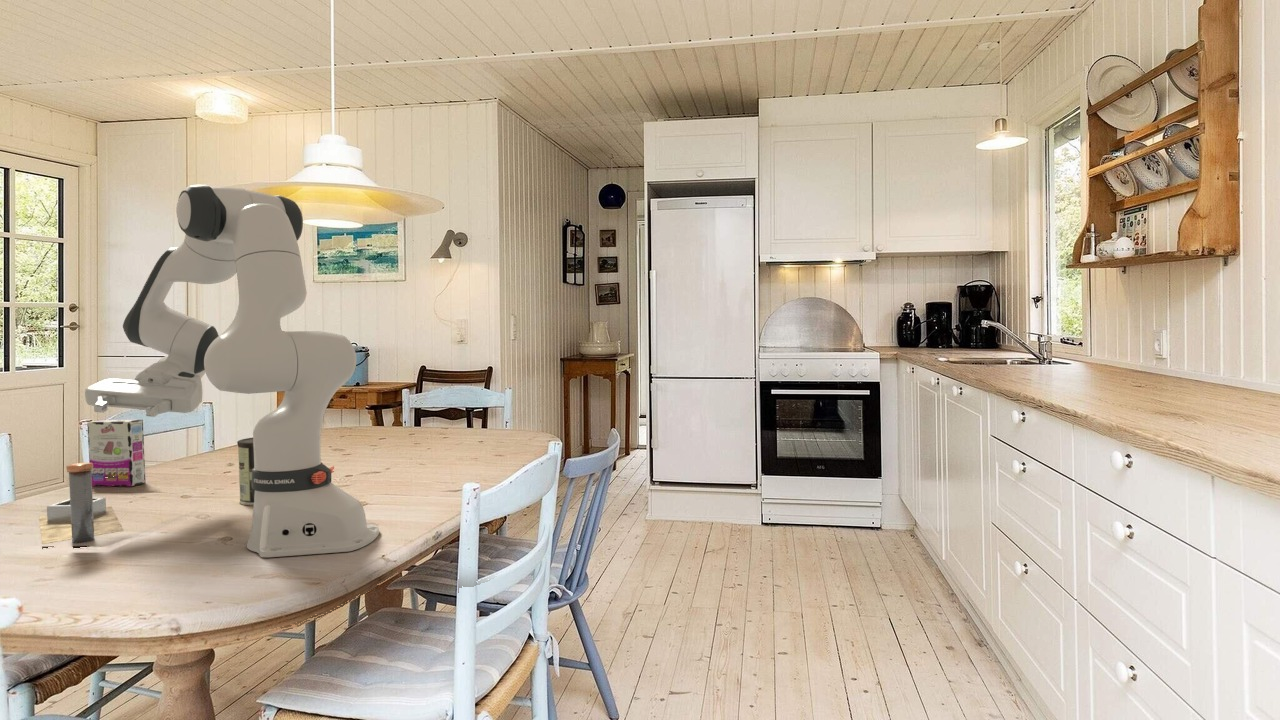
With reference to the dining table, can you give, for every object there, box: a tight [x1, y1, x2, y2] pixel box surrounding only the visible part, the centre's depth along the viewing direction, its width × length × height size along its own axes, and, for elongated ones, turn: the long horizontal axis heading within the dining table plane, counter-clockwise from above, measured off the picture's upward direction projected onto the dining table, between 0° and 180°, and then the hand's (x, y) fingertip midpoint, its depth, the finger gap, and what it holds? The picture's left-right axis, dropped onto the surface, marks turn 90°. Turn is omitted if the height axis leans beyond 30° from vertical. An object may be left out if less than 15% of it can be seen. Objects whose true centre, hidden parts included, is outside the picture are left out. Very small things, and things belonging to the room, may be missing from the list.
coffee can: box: [237, 437, 254, 506], centre depth 163 cm, size 10×10×14 cm
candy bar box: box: [86, 419, 146, 488], centre depth 179 cm, size 11×5×16 cm, turn 87°
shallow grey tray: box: [46, 497, 107, 521], centre depth 146 cm, size 7×7×3 cm
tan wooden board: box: [38, 506, 124, 550], centre depth 141 cm, size 24×12×1 cm, turn 41°
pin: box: [65, 462, 95, 549], centre depth 129 cm, size 4×4×15 cm
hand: (124, 411), depth 142 cm, fingers open, 8 cm apart
